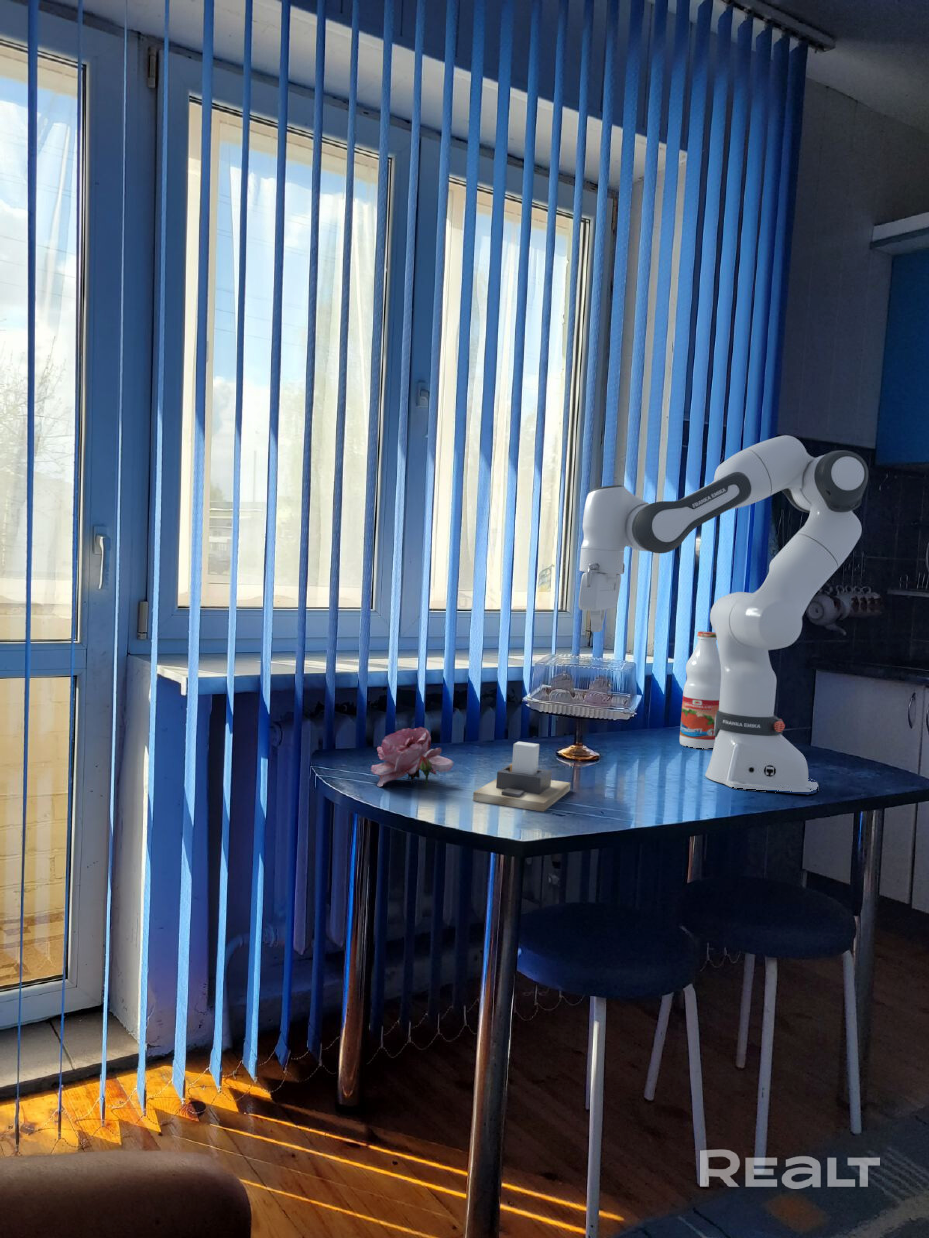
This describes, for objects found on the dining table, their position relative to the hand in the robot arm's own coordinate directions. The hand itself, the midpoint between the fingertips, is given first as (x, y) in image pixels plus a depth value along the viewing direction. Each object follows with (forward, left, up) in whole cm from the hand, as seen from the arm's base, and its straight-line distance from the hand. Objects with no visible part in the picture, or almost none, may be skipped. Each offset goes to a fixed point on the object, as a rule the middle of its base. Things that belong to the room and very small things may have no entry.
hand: (596, 631), depth 207 cm
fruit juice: (-17, -46, -29) cm, 57 cm away
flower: (+26, +32, -29) cm, 51 cm away
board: (+5, +28, -29) cm, 41 cm away
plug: (+5, +28, -28) cm, 40 cm away
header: (+5, +28, -28) cm, 40 cm away
